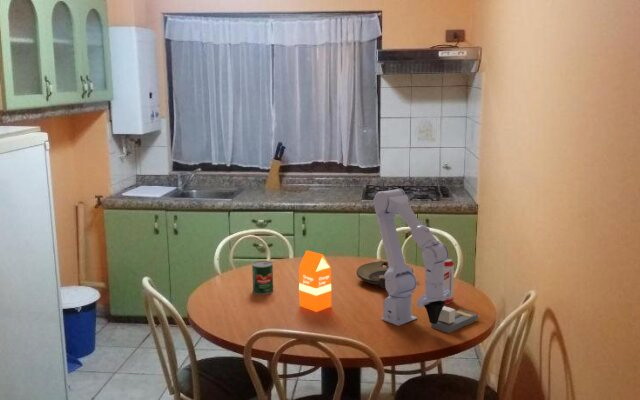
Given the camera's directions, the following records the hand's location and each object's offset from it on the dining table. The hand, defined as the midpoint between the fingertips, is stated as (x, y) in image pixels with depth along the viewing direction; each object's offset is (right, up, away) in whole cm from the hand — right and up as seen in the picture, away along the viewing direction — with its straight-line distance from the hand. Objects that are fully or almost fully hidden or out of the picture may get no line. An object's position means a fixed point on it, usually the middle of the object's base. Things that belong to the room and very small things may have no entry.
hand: (433, 322), depth 200 cm
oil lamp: (-12, +6, +50) cm, 51 cm away
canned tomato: (-58, +4, +42) cm, 72 cm away
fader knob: (+5, 0, +4) cm, 6 cm away
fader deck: (+8, -2, +8) cm, 12 cm away
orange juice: (-38, +1, +25) cm, 46 cm away
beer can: (+9, +2, +28) cm, 30 cm away
